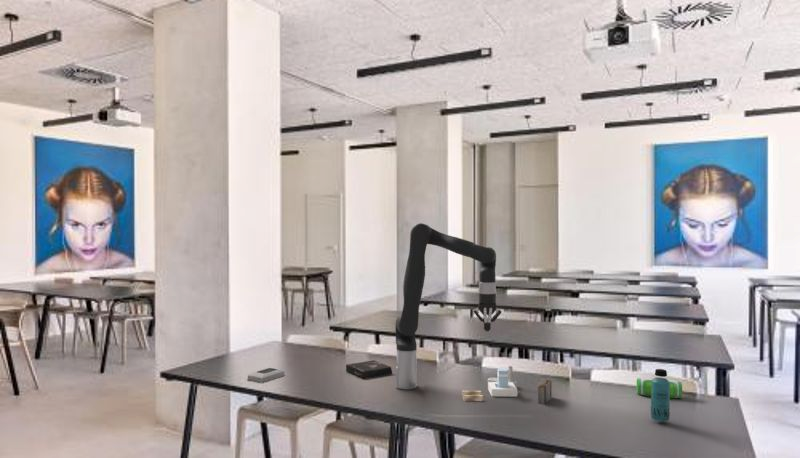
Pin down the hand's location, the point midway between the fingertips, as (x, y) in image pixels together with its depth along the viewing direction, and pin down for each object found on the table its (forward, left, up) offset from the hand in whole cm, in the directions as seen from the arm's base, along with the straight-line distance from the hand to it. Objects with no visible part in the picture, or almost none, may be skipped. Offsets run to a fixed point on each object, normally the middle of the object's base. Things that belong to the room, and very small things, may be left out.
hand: (487, 330), depth 250 cm
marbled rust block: (+23, -12, -28) cm, 38 cm away
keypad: (-104, +20, -28) cm, 110 cm away
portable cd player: (-55, +30, -28) cm, 69 cm away
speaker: (+74, -5, -27) cm, 79 cm away
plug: (+6, -5, -26) cm, 27 cm away
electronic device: (+8, +9, -28) cm, 30 cm away
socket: (+6, -5, -27) cm, 28 cm away
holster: (-8, -13, -27) cm, 31 cm away
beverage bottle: (+60, -38, -27) cm, 76 cm away
